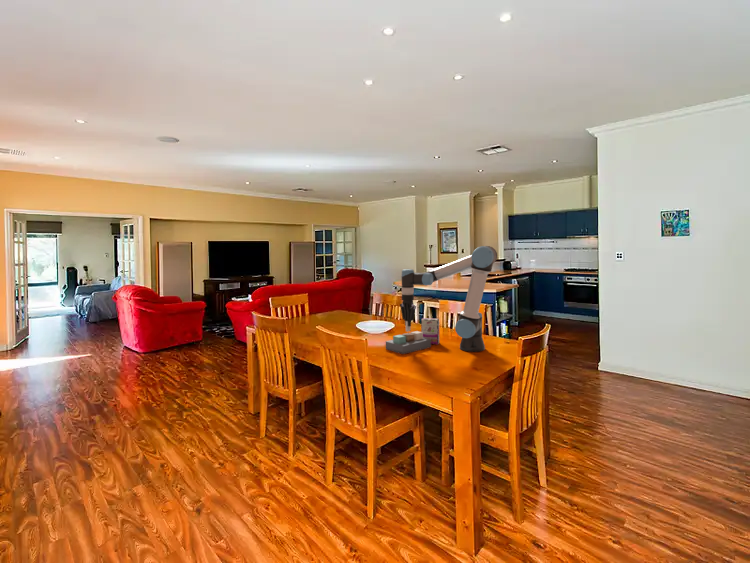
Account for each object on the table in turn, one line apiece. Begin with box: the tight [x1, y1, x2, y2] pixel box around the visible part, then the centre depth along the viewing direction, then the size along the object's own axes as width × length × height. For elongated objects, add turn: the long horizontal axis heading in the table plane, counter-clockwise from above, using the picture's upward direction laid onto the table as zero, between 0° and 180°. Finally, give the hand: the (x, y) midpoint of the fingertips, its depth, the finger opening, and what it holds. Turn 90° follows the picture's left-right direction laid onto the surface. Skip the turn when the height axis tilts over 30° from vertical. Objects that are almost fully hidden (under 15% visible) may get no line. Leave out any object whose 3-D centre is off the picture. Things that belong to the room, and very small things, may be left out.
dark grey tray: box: [385, 338, 432, 355], centre depth 255 cm, size 16×24×5 cm, turn 129°
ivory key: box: [410, 330, 423, 340], centre depth 259 cm, size 6×6×4 cm
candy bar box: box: [420, 317, 440, 345], centre depth 266 cm, size 11×5×16 cm, turn 70°
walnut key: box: [401, 332, 415, 342], centre depth 255 cm, size 6×6×4 cm
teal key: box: [392, 334, 406, 344], centre depth 250 cm, size 6×6×4 cm
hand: (408, 331), depth 254 cm, fingers closed
